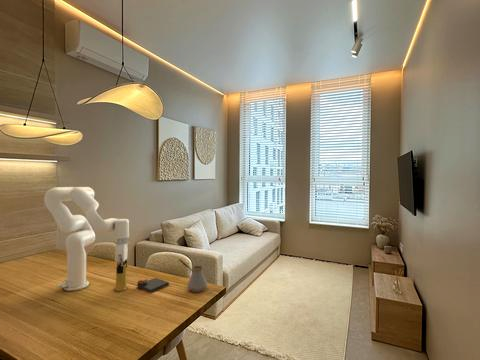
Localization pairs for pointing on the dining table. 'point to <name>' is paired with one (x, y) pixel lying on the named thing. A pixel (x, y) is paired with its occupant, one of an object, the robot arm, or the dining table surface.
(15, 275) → the dining table surface
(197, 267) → the coffee pot
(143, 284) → the scale
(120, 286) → the vase
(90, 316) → the dining table surface
